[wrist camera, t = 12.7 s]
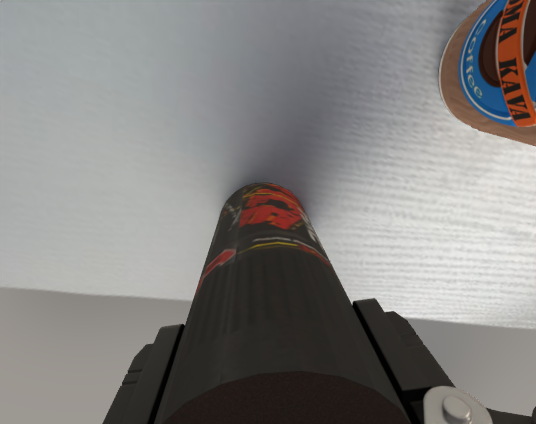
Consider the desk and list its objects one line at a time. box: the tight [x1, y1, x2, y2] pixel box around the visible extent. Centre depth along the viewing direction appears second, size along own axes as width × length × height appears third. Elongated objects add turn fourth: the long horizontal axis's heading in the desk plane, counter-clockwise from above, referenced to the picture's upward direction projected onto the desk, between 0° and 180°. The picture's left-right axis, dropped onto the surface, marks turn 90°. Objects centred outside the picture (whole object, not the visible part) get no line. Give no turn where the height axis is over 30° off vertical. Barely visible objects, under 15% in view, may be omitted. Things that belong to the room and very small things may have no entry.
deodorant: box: [154, 183, 411, 424], centre depth 14 cm, size 6×6×15 cm
